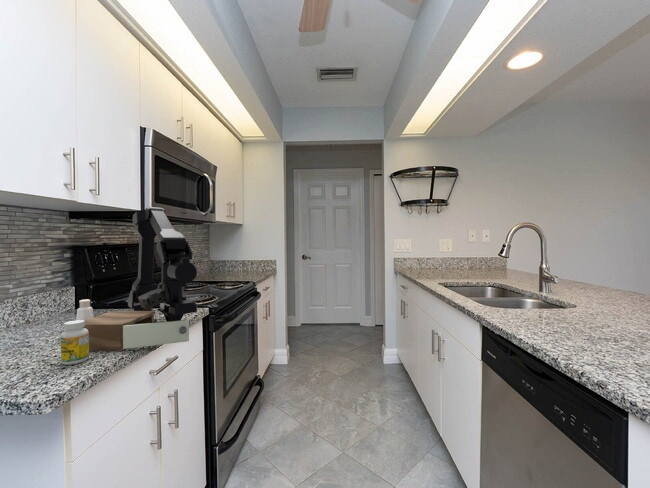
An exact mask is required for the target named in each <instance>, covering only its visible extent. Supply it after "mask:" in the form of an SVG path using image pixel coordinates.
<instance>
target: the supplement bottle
mask: <svg viewBox="0 0 650 488" xmlns="http://www.w3.org/2000/svg"><path fill="white" fill-rule="evenodd" d="M84 326H85V321H84V320H76V319H75V320H71V321H66V322H64V323H63V329H64V331H62V333H61V334H60V337H59V338H60V363H62V365H66V366H68V365H69V366H70V365H75V364H79V363H83V362H86V361H87V360H89V357H90V351H89V332H88V330H87V329H86V328H84Z"/></svg>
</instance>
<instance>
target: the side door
mask: <svg viewBox="0 0 650 488" xmlns="http://www.w3.org/2000/svg"><path fill="white" fill-rule="evenodd" d="M185 342H190V320H189V319H183V320H182V319H181V320H179V321H169V322H166V321H160V322H159V321H158V322H154V323H147V324H136V325H125V326H123V349H124V350H126V349H134V348H142V347H150V346H160V345H168V344H177V343H185Z"/></svg>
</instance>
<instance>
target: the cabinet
mask: <svg viewBox="0 0 650 488" xmlns="http://www.w3.org/2000/svg"><path fill="white" fill-rule="evenodd" d="M155 315H156V311H155V310H153V311H134V310H112V311H108V312H105V313H102V314H99V315H96V316H94V317H92V318H89V319H86V320H84V321H85V326H84V328H86V329H87V330H88V332H89V352H92V351H95V352H98V351H101V352H102V351H105V352H107V351H114V352H115V351H124V350H125V349H123V326H125V325H136V324H147V323H155V321H154V319H155V317H154V316H155Z"/></svg>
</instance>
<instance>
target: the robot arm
mask: <svg viewBox="0 0 650 488" xmlns="http://www.w3.org/2000/svg"><path fill="white" fill-rule="evenodd" d="M132 224H133V225H134V226H133V228H134V230H135V232H136V234H137V235H138V237H139V238H138V239H139V240H138V242H139V243H138V268H137V278H136V279H135V280H134V282H133V283H132V284H131V290H130V292H129V295H128V298H127V306H128V307H129V308H130V309H133V311H154V310H153V308H154V307H155V306H158V305H159V308H157V311H158V312H160V313H161V314H163V315H164V318H165V322H169V321H179V320H182V319H183V317H184V315H188V314H192V313H197V312H198V304H197V303H196V301H192V300H191V299H190V300H189V299H187V296H184V287H187V284H189V283H191V282H193V281H194V280H195V279H196V277H197V275H198V270H197V267H196V266H195V264H193V263H192V262H190V261H191V260H193V255H194V254H193V251H192V249H191V247H190V244H189V241H188V240H187V239H186V237H185V236H184V235H183V234H182V232H179V231H176V230H175V229H174V228H173V226H172V224H171V221H170V220H169V219H168V216H167V215H166V210H165V209H164V208H162V207H156V206H155V207H153V206H149V207H146V208H145V209H142V210H138V211H135V213H134V214H133V215H132ZM156 237H157V240H156V252H157V253H158V256H159V258H160V263H161V282H158V284H157V283H156V281H155V279H154V262H155V261H154V260H155V239H156ZM156 321H158V319H157V318H154V322H156Z"/></svg>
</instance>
